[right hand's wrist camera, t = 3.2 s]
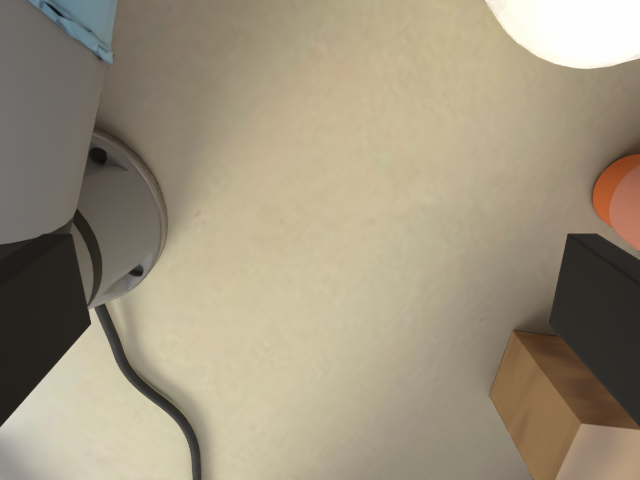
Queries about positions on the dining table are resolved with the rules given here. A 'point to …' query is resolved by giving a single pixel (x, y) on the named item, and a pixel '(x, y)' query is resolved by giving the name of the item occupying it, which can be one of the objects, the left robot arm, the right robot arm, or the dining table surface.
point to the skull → (573, 29)
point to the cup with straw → (620, 198)
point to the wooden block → (562, 413)
